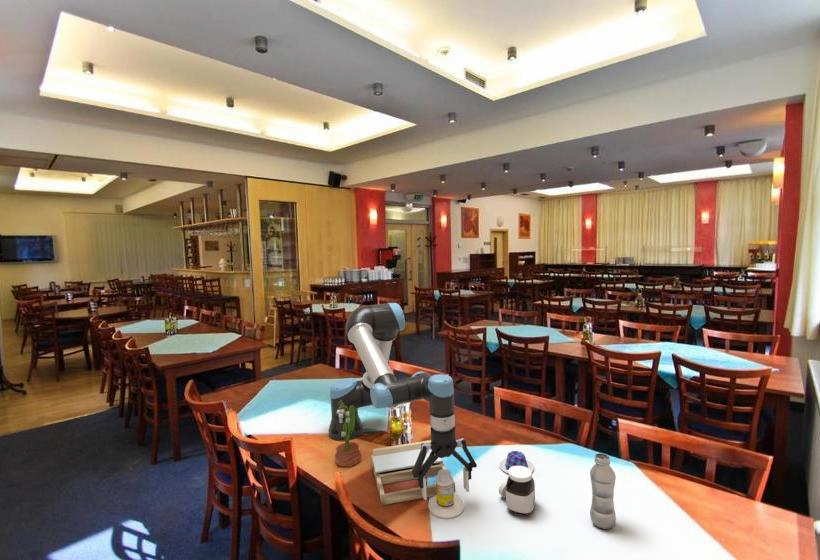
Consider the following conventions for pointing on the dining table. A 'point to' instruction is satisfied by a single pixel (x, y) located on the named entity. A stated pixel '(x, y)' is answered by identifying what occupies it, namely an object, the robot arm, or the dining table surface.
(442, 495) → the supplement bottle
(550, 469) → the dining table surface
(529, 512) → the spread jar
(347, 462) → the potted flower
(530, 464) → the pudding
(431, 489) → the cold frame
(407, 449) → the lid
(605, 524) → the plastic bottle
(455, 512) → the saucer
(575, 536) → the dining table surface
